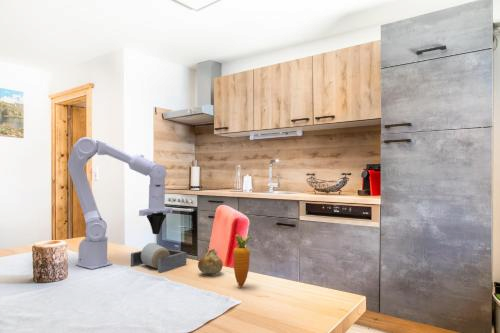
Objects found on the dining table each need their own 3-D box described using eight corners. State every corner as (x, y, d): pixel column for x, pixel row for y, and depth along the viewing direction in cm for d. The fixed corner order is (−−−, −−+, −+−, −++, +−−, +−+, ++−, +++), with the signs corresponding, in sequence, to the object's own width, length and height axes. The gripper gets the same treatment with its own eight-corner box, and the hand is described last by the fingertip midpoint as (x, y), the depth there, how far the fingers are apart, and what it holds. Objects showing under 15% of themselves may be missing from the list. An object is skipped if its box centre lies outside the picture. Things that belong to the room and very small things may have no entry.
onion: (194, 272, 109) (194, 248, 109) (217, 270, 113) (217, 246, 113) (202, 279, 102) (202, 253, 102) (226, 276, 106) (226, 250, 106)
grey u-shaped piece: (130, 266, 115) (130, 253, 116) (157, 258, 126) (157, 247, 126) (160, 272, 108) (160, 259, 108) (186, 264, 119) (186, 252, 119)
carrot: (251, 285, 97) (252, 233, 97) (246, 291, 92) (247, 236, 93) (235, 283, 99) (236, 232, 99) (229, 289, 94) (230, 235, 94)
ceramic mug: (152, 271, 110) (153, 247, 110) (139, 266, 115) (140, 244, 116) (179, 266, 117) (180, 244, 118) (166, 261, 123) (167, 240, 123)
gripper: (149, 198, 116) (148, 237, 115) (178, 196, 128) (177, 232, 128) (135, 197, 119) (134, 235, 119) (165, 195, 132) (164, 230, 131)
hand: (155, 233), depth 123 cm, fingers closed
